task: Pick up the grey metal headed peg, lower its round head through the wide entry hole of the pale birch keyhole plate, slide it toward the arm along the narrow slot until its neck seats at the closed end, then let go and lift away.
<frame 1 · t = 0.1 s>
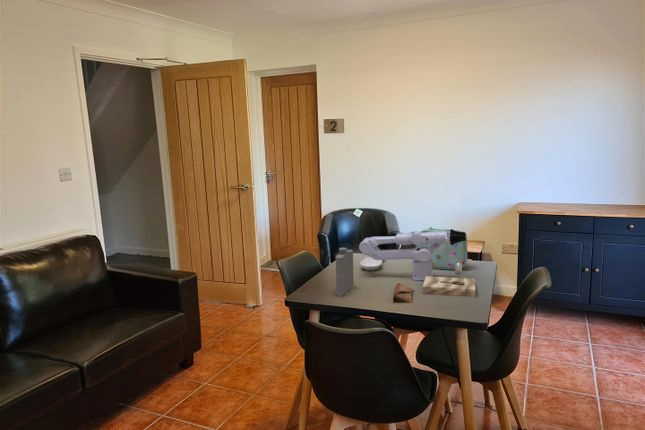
hand: (466, 236, 214), 22 cm above the table, tool horizontal, fingers open, 7 cm apart
keyhole plate: (449, 289, 205), on the table
spoon rest: (374, 267, 248), on the table
peg: (458, 282, 215), on the table
hip flask: (344, 291, 208), on the table
lunch box: (440, 267, 241), on the table
sunglasses case: (403, 297, 198), on the table
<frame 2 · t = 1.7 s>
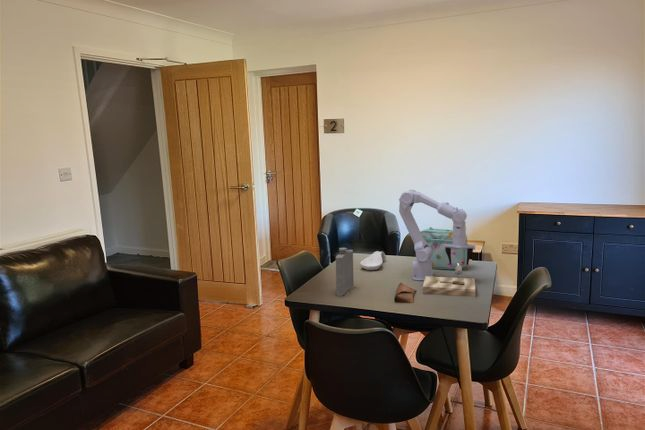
hand: (458, 264, 214), 9 cm above the table, tool pointing down, fingers open, 7 cm apart
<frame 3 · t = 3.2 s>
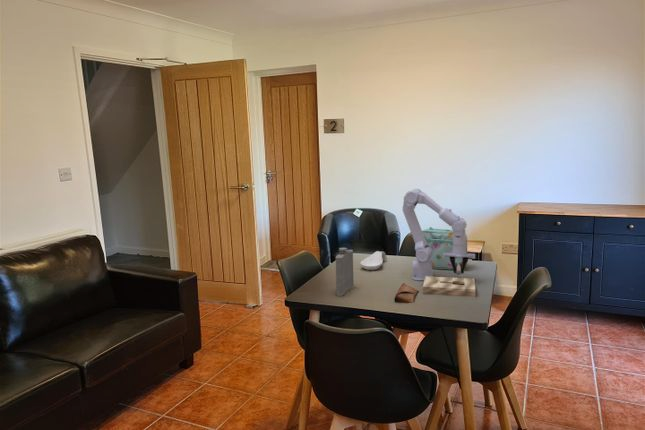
hand: (458, 272, 215), 5 cm above the table, tool pointing down, fingers closed on peg, 3 cm apart
peg: (458, 282, 215), on the table, touching gripper
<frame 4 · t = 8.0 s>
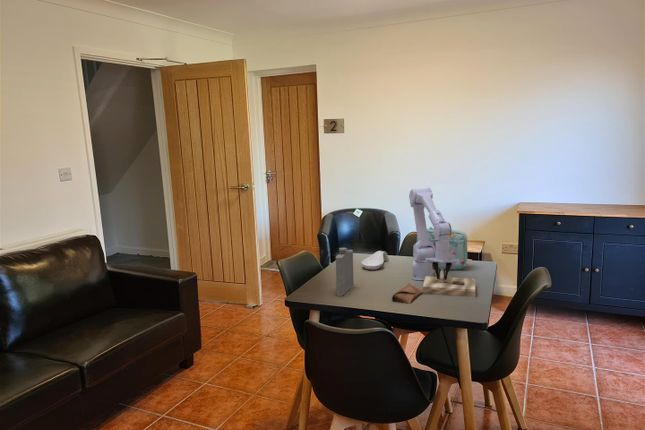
hand: (441, 278, 205), 5 cm above the table, tool pointing down, fingers closed on peg, 3 cm apart
peg: (441, 288, 206), on the table, touching gripper
when the fingers open (5 cm above the table, at t = 8.8 s): peg stays where it is, on the table.
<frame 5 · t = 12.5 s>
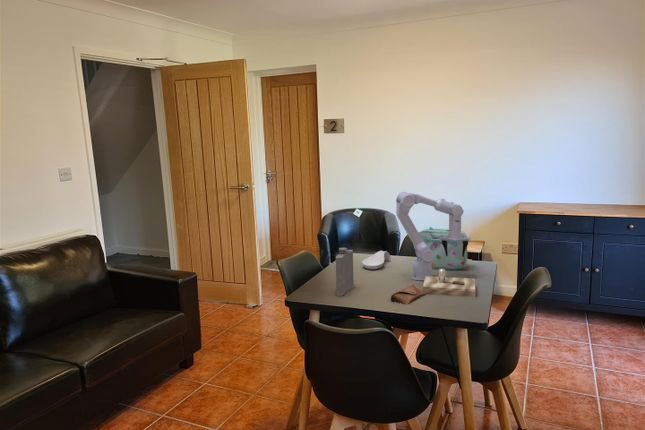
hand: (454, 255, 223), 10 cm above the table, tool pointing down, fingers open, 7 cm apart
peg: (441, 288, 206), on the table
at the end: peg 0.1 cm from the target spot on the keyhole plate, point 0.0 cm above the keyhole plate's base; peg tilted 0°; the gripper is holding nothing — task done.
